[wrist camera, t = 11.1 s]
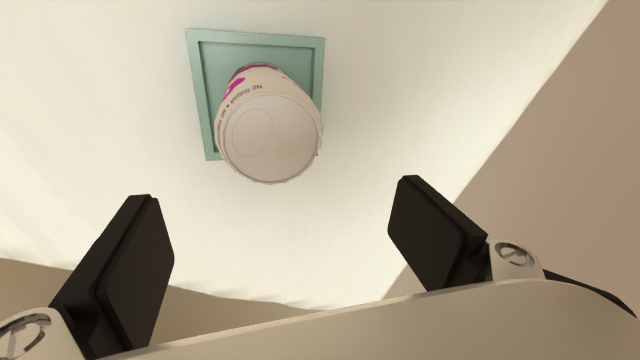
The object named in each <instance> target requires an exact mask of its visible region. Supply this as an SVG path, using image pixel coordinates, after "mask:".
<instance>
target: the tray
mask: <svg viewBox="0 0 640 360" xmlns="http://www.w3.org/2000/svg"><path fill="white" fill-rule="evenodd" d="M185 33H186V39H187V46H188V52H189V58H190V64H191V70H192V76H193V82H194V89H195V95H196V101H197V107H198V113H199V119H200V125H201V132H202V138H203V144H204V150H205V156H206V161H211V160H224V159H223V158H222V156H221V154H220V152H219V149H218V147H217V145H216V143H215V131H214V121H215V119H216V116H217V113H218V110H219V107H220V105H221V102H222V99H223V96H224V94H225V91H226V88H227V85H228V83H229V80H230V78H231V76H232V75H233V74H234V73H235V72H236V71H237V70H238V69H239V68H241V67H243V66H245V65H247V64H249V63H257V62H265V63H268V64H271V65H274V66H277V67H278V68H279V69H281V70H282V71H283V72H285V73H286V74H287V75H288V76H289V77H290V78H291V79H292V80H293V81H294V82H295V83H296V84H297V85H298V86H299V87H300V88H301V89H302V90H303V91H304V92H305V93H306V94H307V95H308V96H309V97H310V98H311V100H312V101H313V103H314V105H315V106H316V108H317V110H318V111H319V113H320V107H321V90H322V73H323V56H324V39H325V38H318V37H303V36H288V35H273V34H259V33H244V32H229V31H214V30H199V29H185ZM316 156H318V153H317V154H316Z"/></svg>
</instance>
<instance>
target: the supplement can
mask: <svg viewBox="0 0 640 360" xmlns="http://www.w3.org/2000/svg"><path fill="white" fill-rule="evenodd" d="M214 131H215V143H216V145H217V147H218V149H219V152H220V154H221V156H222V158H223V159H224V160H225V161H226V163H227V164H228V165H229V166H230V167H231V168H232V169H233V170H234V171H235V172H237V173H239V174H240V175H241V176H243V177H245V178H247V179H249V180H251V181H253V182H256V183H262V184H268V185H272V184H279V183H286V182H288V181H290V180H292V179H294V178H296V177H298V176H300V175H301V174H302V173H303V172H304V171H305V170H306V169H307V168H308V167H310V166H311V164H312V162H313V160H314V158H315V156H316V154H317V153H318V150H319V148H320V146H321V139H322V133H323V128H322V123H321V118H320V113H319V111H318V110H317V108H316V106H315V105H314V103H313V101H312V100H311V98H310V97H309V96H308V95H307V94H306V93H305V92H304V91H303V90H302V89H301V88H300V87H299V86H298V85H297V84H296V83H295V82H294V81H293V80H292V79H291V78H290V77H289V76H288V75H287V74H286V73H285V72H283V71H282V70H281V69H279V68H278V67H277V66H274V65H271V64H268V63H265V62H257V63H249V64H247V65H245V66H243V67H241V68H239V69H238V70H237V71H236V72H235V73H234V74H233V75H232V76H231V78H230V80H229V83H228V85H227V88H226V91H225V94H224V96H223V99H222V102H221V105H220V107H219V110H218V113H217V116H216V119H215V121H214Z"/></svg>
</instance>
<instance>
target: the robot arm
mask: <svg viewBox="0 0 640 360" xmlns="http://www.w3.org/2000/svg"><path fill="white" fill-rule="evenodd" d="M387 230H388V235H389V237H390V238H391V240H392V241H393V243H394V244H395V246H396V247H397V248H398V250H399V251H400V253H401V254H402V256H403V257H404V259H405V260H406V262H407V263H408V264H409V266H410V267H411V268H412V270H413V272H414V273H415V275H416V276H417V277H418V279H419V280H420V282H421V283H422V285H423V286H424V288H425V289H426V290H427V292H424V293H419V294H413V295H408V296H402V297H397V298H392V299H386V300H381V301H375V302H370V303H365V304H360V305H354V306H349V307H344V308H339V309H333V310H328V311H323V312H318V313H312V314H307V315H302V316H297V317H292V318H287V319H282V320H277V321H271V322H266V323H261V324H257V325H251V326H246V327H241V328H236V329H231V330H226V331H221V332H216V333H210V334H206V335H200V336H196V337H191V338H187V339H182V340H177V341H172V342H167V343H163V344H158V345H153V346H149V347H148V345H149V342H150V339H151V336H152V333H153V329H154V326H155V323H156V320H157V317H158V313H159V310H160V307H161V304H162V300H163V298H164V294H165V291H166V288H167V285H168V282H169V278H170V275H171V272H172V269H173V266H174V253H173V249H172V246H171V242H170V239H169V236H168V232H167V229H166V225H165V222H164V219H163V215H162V212H161V208H160V205H159V202H158V199H157V198H152V197H151V195H149V194H143V195H131V196H129V197H128V198H127V199H126V200H125V202H124V203H123V205H122V206H121V207H120V209H119V210H118V212H117V213H116V214H115V216H114V217H113V219H112V220H111V221H110V223H109V224H108V226H107V227H106V228H105V230H104V231H103V233H102V234H101V235H100V237H99V238H98V239H97V240H96V241H95V242H94V244H93V245H92V246H91V248H90V249H89V251H88V252H87V253H86V255H85V256H84V257H83V259H82V260H81V262H80V263H79V264H78V266H77V267H76V269H75V270H74V271H73V273H72V274H71V275H70V277H69V278H68V280H67V281H66V282H65V284H64V285H63V287H62V288H61V289H60V291H59V292H58V294H57V295H56V296H55V298H54V299H53V300H52V302H51V303H50V304H49V306H48V307H43V308H34V309H31V310H27V311H24V312H21V313H19V314H16V315H14V316H12V317H10V318H8V319H6V320H4V321H2V322H1V323H0V360H640V321H639V320H638V319H637V317H636V315H635V314H634V313H633V311H632V310H631V309H630V308H628V307H627V305H625V304H624V303H623V302H622V301H621V300H620V299H619V298H617V297H616V296H614V295H612V294H611V293H609V292H606V291H603V290H600V289H597V288H595V287H592V286H589V285H586V284H583V283H581V282H578V281H575V280H572V279H570V278H567V277H564V276H561V275H558V274H555V273H553V272H550V271H547V270H544V269H542V266H541V264H540V261H539V259H538V258H537V257H536V256H535V255H534V254H533V253H532V252H531V251H530V250H528V249H527V248H525V247H523V246H522V245H519V244H517V243H514V242H512V241H508V240H500V239H497V240H493V241H492V242H490V244H488V243H487V242H486V238H487V236H488V234H487V233H486V232H485V231H484V230H482V229H481V228H480V227H479V226H478V225H476V224H475V223H474V222H473V221H472V220H470V219H469V218H468V217H467V216H466V215H465V214H463V213H462V212H461V211H460V210H459V209H458V208H456V207H455V206H454V205H453V204H452V203H450V202H449V201H448V200H447V199H446V198H445V197H443V196H442V195H441V194H440V193H439V192H437V191H436V190H435V189H434V188H433V187H431V186H430V185H429V184H428V183H427V182H426V181H424V180H423V179H422V178H421V177H420V176H418V175H405V176H403V177H402V178H401V179H400V180H399V181H398V184H397V189H396V193H395V197H394V202H393V206H392V211H391V215H390V220H389V224H388V229H387Z"/></svg>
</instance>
